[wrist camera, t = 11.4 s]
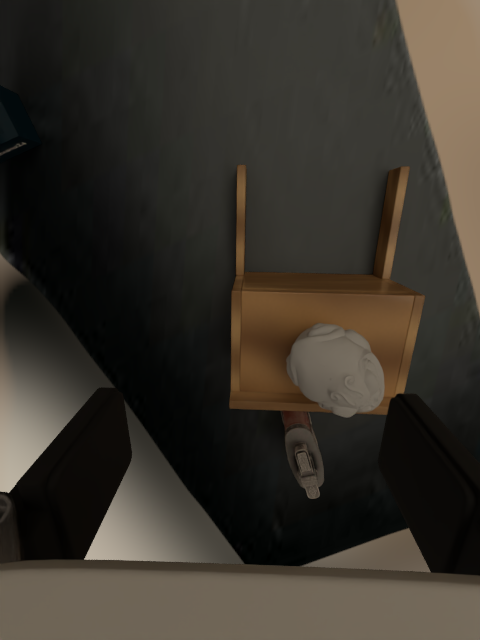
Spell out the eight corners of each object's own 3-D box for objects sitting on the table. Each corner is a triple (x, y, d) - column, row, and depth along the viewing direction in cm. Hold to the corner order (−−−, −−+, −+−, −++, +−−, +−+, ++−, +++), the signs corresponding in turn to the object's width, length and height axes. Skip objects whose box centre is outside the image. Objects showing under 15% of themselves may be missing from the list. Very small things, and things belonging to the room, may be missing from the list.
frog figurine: (329, 392, 27) (355, 450, 20) (265, 350, 26) (269, 397, 19) (377, 340, 25) (422, 385, 18) (310, 293, 24) (332, 322, 17)
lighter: (315, 437, 39) (335, 507, 30) (290, 442, 40) (301, 513, 30) (301, 384, 37) (317, 443, 27) (274, 391, 37) (281, 450, 28)
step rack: (238, 168, 29) (230, 144, 19) (397, 170, 29) (473, 146, 19) (236, 355, 36) (229, 408, 26) (365, 359, 35) (409, 415, 25)
